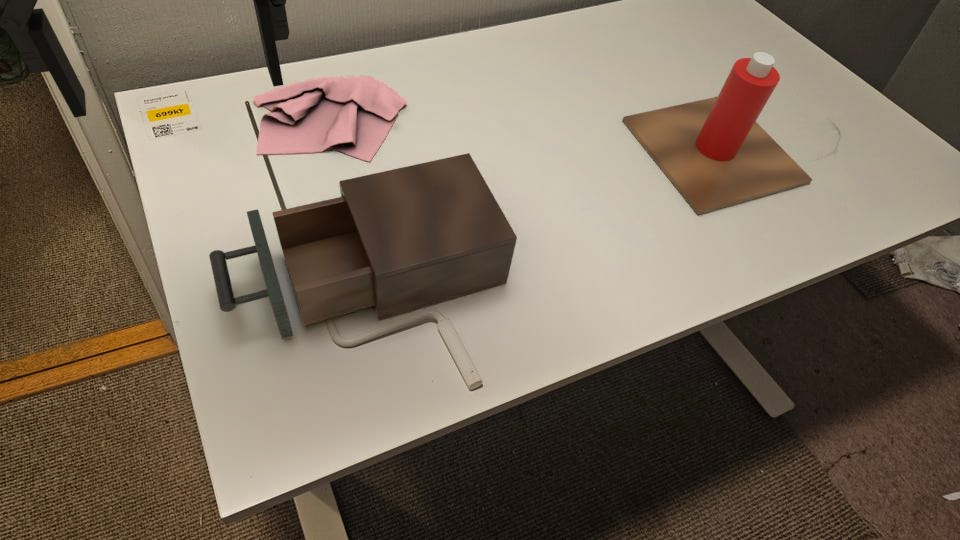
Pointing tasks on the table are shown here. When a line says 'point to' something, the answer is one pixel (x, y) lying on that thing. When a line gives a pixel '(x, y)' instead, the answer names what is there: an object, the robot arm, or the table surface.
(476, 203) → the cabinet
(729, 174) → the brown wooden square board
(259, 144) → the cloth
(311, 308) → the drawer
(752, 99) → the red cylinder white end
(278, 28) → the robot arm
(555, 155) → the table surface
